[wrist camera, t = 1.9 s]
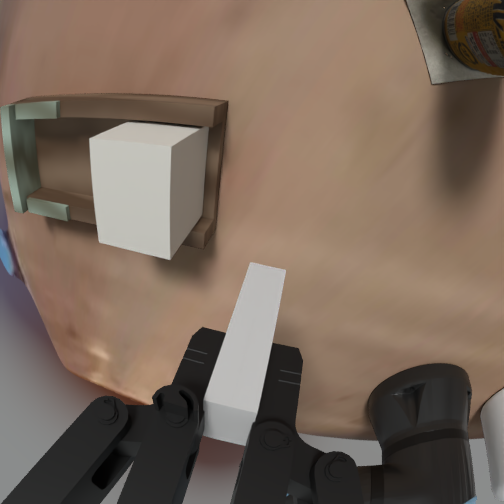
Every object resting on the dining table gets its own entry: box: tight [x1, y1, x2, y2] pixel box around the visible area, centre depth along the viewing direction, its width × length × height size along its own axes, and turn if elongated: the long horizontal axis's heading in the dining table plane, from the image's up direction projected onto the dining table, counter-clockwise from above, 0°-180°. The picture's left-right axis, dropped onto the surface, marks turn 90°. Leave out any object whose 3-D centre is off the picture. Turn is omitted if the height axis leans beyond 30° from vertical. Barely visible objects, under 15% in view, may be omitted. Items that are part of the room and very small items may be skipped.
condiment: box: [406, 0, 504, 84], centre depth 11 cm, size 7×8×12 cm
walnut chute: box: [0, 93, 228, 249], centre depth 25 cm, size 12×22×4 cm, turn 82°
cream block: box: [89, 120, 209, 260], centre depth 23 cm, size 8×6×7 cm
